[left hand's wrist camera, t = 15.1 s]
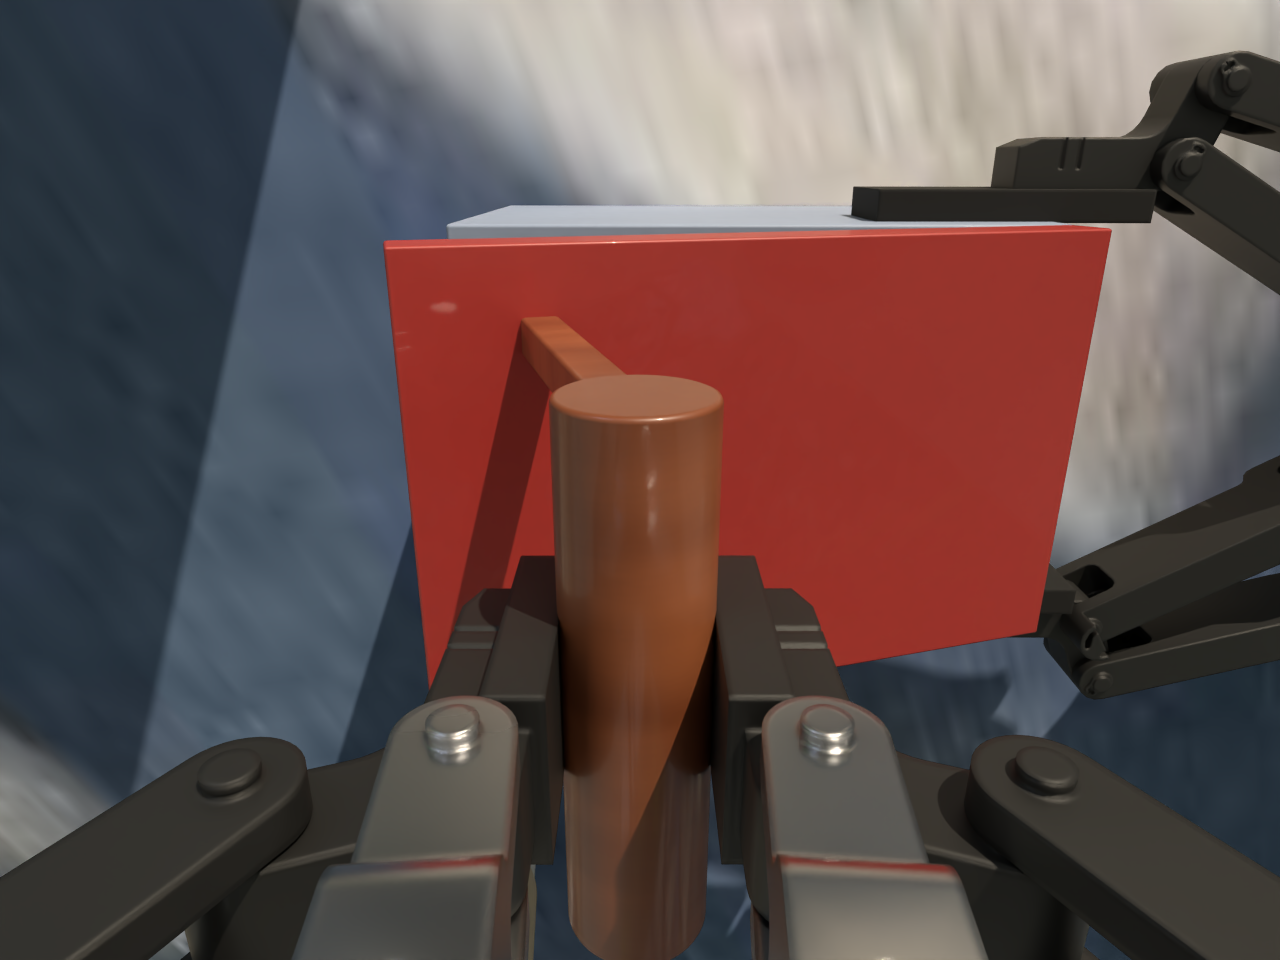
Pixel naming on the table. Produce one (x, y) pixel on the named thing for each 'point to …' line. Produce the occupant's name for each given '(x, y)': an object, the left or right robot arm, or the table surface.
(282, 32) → the table surface
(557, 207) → the chest
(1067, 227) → the lid
